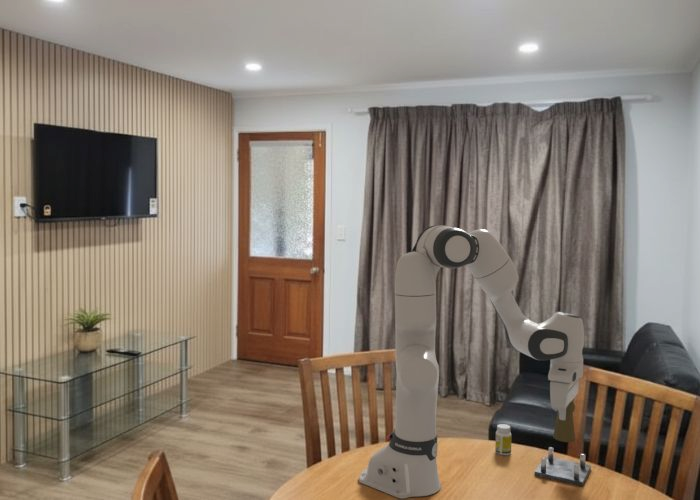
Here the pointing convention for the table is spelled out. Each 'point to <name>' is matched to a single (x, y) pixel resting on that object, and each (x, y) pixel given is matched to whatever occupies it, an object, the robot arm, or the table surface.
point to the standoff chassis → (563, 469)
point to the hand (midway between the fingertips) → (564, 416)
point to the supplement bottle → (503, 440)
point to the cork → (565, 426)
